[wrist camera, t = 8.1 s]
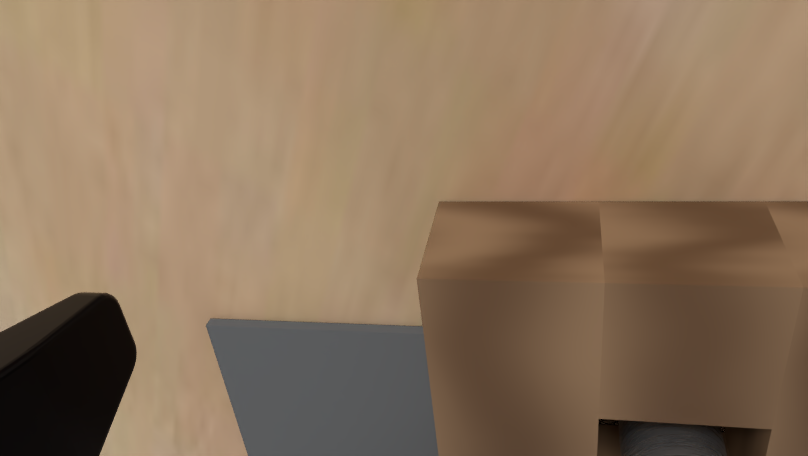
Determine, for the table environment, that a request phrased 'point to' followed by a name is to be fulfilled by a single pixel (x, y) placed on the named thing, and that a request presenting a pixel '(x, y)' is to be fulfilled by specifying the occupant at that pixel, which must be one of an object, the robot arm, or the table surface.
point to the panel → (327, 387)
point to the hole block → (615, 324)
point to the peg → (669, 439)
